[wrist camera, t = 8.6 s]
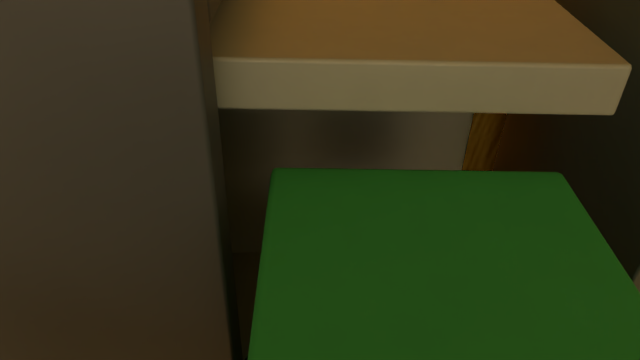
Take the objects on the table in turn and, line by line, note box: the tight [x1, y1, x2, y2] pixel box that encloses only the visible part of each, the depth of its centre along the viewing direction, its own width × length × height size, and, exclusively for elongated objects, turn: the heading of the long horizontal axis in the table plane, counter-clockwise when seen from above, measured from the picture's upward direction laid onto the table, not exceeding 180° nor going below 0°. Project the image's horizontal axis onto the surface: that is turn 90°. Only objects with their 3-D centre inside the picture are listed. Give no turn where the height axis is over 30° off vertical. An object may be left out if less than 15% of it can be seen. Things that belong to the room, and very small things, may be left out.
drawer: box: [209, 0, 640, 360], centre depth 13 cm, size 16×11×7 cm
